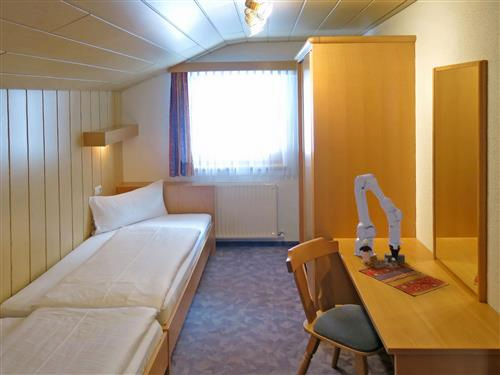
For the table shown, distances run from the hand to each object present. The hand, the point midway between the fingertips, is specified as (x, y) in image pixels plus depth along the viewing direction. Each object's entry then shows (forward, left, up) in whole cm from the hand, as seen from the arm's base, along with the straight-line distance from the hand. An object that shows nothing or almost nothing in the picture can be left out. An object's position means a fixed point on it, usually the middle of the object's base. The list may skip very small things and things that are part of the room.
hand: (394, 259), depth 273 cm
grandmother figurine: (-10, -11, -2) cm, 15 cm away
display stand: (+1, -9, -2) cm, 9 cm away
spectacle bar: (0, 0, -2) cm, 2 cm away
